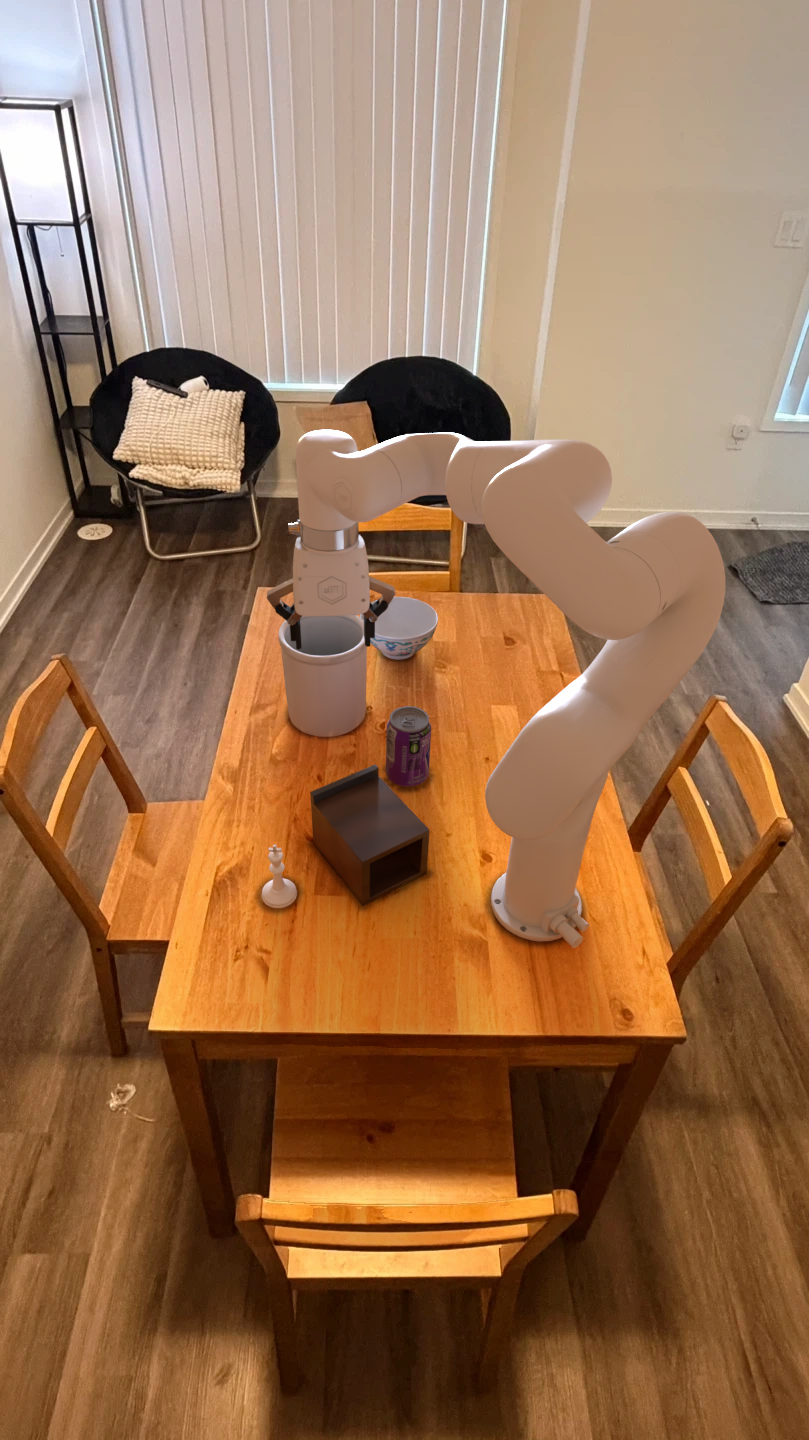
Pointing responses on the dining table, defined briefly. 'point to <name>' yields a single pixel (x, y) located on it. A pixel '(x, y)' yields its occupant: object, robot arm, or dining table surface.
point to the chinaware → (404, 627)
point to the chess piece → (278, 883)
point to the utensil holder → (325, 674)
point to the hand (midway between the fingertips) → (333, 642)
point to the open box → (368, 835)
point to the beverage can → (408, 746)
